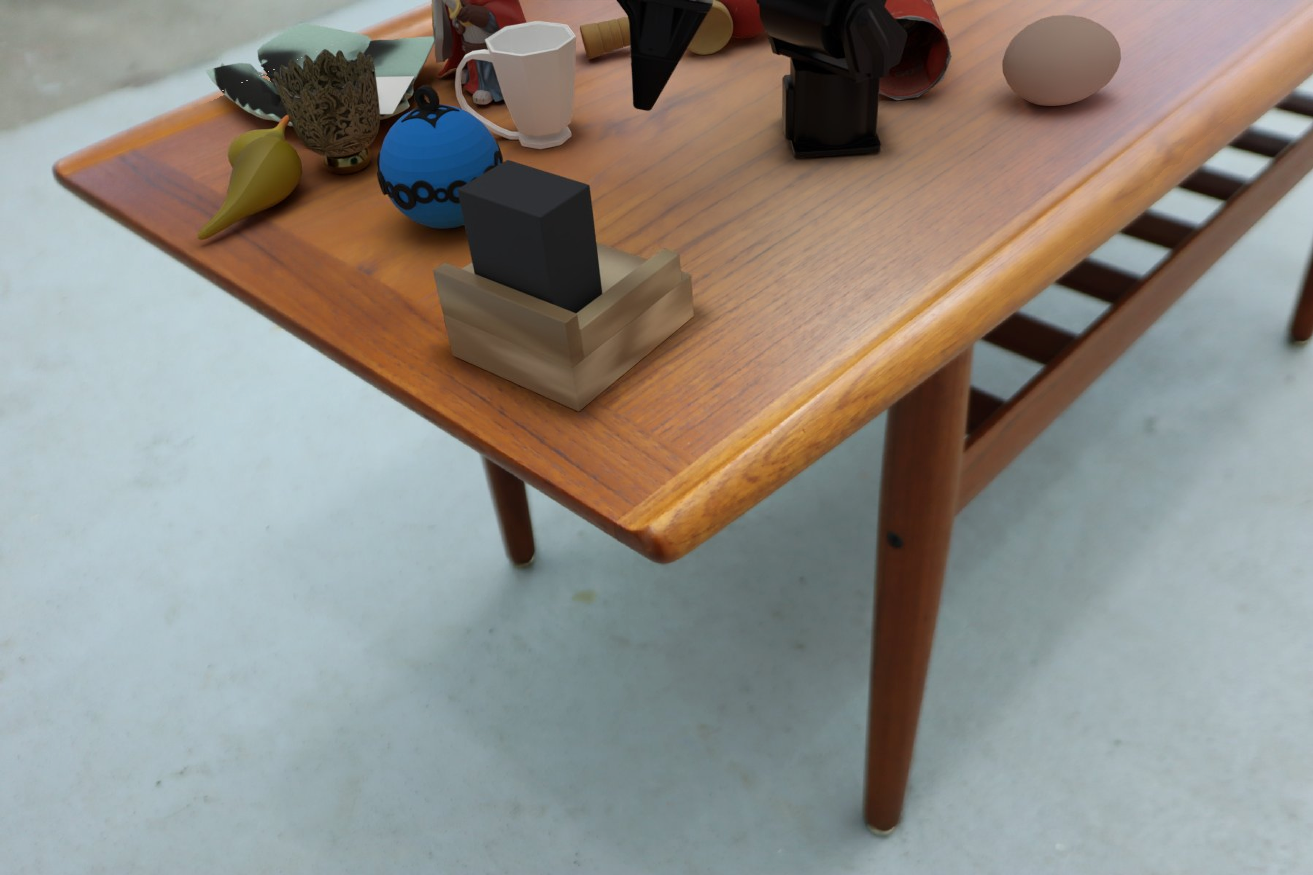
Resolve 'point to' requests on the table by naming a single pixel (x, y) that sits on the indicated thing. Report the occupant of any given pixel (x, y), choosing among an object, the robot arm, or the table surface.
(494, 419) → the table surface
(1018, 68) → the egg
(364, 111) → the cup
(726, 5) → the kendama
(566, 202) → the black rectangular block
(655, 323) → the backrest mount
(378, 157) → the ornament
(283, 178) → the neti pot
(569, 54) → the cup
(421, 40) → the cloth
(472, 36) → the figurine
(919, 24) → the beverage can
